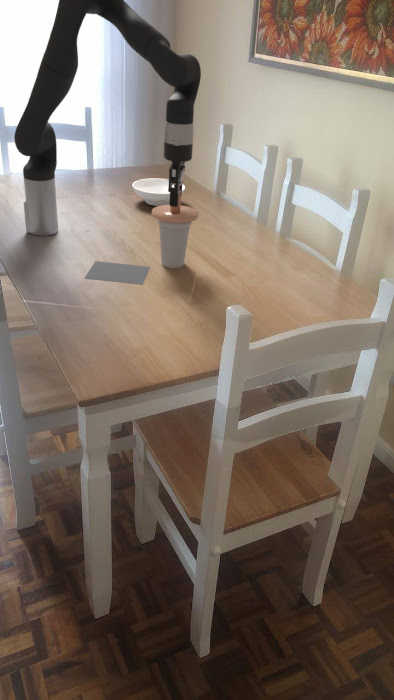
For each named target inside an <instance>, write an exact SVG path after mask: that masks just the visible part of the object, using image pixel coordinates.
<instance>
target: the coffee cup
mask: <svg viewBox="0 0 394 700" xmlns="http://www.w3.org/2000/svg"><path fill="white" fill-rule="evenodd" d="M192 222H193V221H192ZM192 222H187V223H171V222H165V221H161V220H158V219H157V223H158V224H159V237H160V239H159V240H160V242H159V243H160V256H161V257H160V258H161V259H160V260H161V265H162V266H164V267H165V268H168V269H169V268H170V269H178V268H180V269H181V268H183V266H184V264H185V259H186V253H187V245H188V240H189V239H188V238H189V233H190V227H191V225H192V224H193V223H192Z"/></svg>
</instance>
